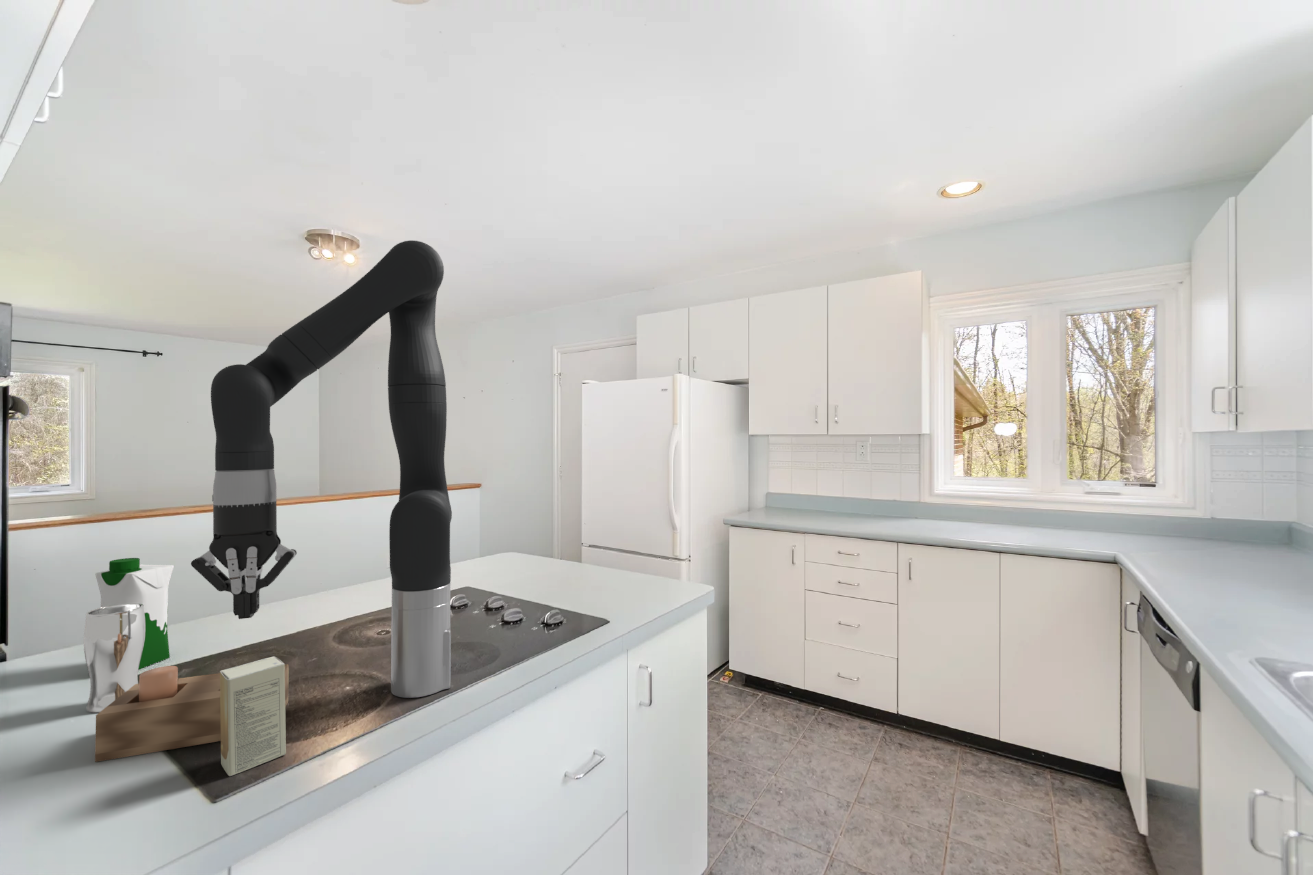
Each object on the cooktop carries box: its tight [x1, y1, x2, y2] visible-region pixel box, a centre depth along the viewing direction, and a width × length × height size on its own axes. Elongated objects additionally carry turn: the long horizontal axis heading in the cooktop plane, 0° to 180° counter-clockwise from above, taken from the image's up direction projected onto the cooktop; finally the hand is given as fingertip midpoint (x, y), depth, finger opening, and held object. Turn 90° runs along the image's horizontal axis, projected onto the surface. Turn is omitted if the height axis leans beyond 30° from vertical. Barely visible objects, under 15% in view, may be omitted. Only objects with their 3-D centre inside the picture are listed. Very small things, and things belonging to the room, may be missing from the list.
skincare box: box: [219, 656, 287, 777], centre depth 70 cm, size 6×4×12 cm
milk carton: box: [95, 557, 175, 671], centre depth 102 cm, size 9×9×20 cm
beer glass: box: [83, 603, 145, 714], centre depth 86 cm, size 7×7×15 cm
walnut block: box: [94, 664, 290, 763], centre depth 78 cm, size 19×10×6 cm, turn 112°
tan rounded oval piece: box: [138, 665, 179, 702], centre depth 76 cm, size 4×4×5 cm
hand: (246, 616), depth 80 cm, fingers closed
